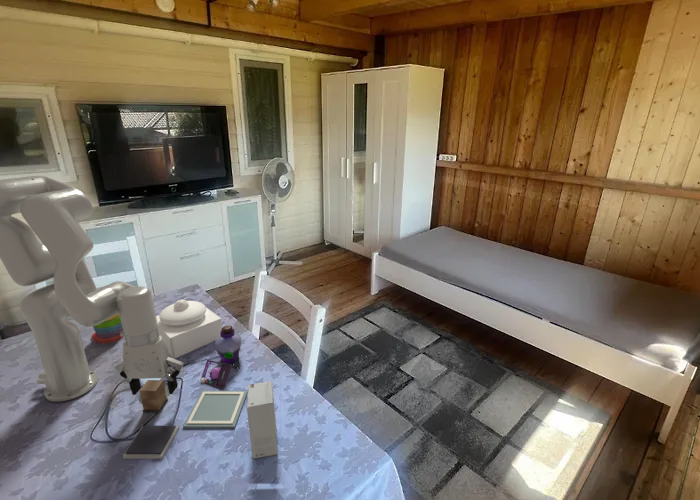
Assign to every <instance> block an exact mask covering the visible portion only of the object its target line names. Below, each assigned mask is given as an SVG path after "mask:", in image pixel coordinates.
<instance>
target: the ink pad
mask: <svg viewBox="0 0 700 500" xmlns="http://www.w3.org/2000/svg"><path fill="white" fill-rule="evenodd" d="M179 429H180V425H155V424H154V425H142V426H141V427H140V429H139V431H137V433H136V435H135V437H133V439H132V441H131V442H130V444H129V445H128V447H127V448H126V450H125V451H124V453H123V455H122V459H125V460H127V459H129V460H136V459H138V460H141V459H142V460H143V459H144V460H151V459H152V460H156V459H157V460H159V459H160V460H163V459H164V457H165V454H166V453H167V451H168V450H169V448H170V446H171V444H172V442H173V441H174V438H175V437H176V436H177V433H178V431H179Z"/></svg>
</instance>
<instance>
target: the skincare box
mask: <svg viewBox="0 0 700 500" xmlns="http://www.w3.org/2000/svg"><path fill="white" fill-rule="evenodd" d="M247 388H248V390H247V392H248V393H247V396H246V398H247V405H246V411H247V419H248V421H247V422H248V428H249V429H248V430H249V436H250V437H249V438H250V443H251V453H252V459H258V458H264V457H272V456H277V455H278V443H277V420H276V410H275V409H276V408H275V400H274V399H275V398H274V391H273V390H274V389H273V381H272V380H271V381H270V380H269V381H264V382H257V383H252V384H248V385H247Z"/></svg>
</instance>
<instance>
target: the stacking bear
mask: <svg viewBox="0 0 700 500" xmlns="http://www.w3.org/2000/svg"><path fill="white" fill-rule="evenodd" d="M92 327H93V330H94V332H93V333H92V335H91V340H92V339H93V340H94V341H93V342H95V343H97V342H98V344H111V343H115V342H117V341H119V340H121V339H123V338H124V337H123V336H120V332H121V331H123V327H122V323H121V319H120V315H119V314H116V315H115V316H113V317H111V318H109V319H107V320H106V321H104V322H102V323H100V324H98V325H96V326H92Z"/></svg>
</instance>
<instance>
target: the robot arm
mask: <svg viewBox="0 0 700 500" xmlns="http://www.w3.org/2000/svg"><path fill="white" fill-rule="evenodd" d="M17 214H21V216H22V218H23V219H24V220H25V222H26V223H25V222H24V221H22V220H21V219H18V218H17V217H14V216H12V215H17ZM92 214H93V205H92V203H91V200H90V199H89V197H88V196H87V195H86V194H85V193H84V192H82V191H81V190H80V189H78V188H76V187H74V186H72V185H69V184H66V183H64V182H61V181H59V180H56V179H54V178H52V177H48V176H45V175H30V176H29V175H28V176H21V177H13V178H12V177H11V178H3V179H0V261H1V262H2V264H3V266H4V268H5V269H6V271H7V273H8V275H9V276H10V278H11V280H12V281H13V282H14V283H15V284H17V285H18V286H21V287H30V286H35V285H38V284H40V283H43V282H45V281H48V280H52V279H53V283H52V282H51V283H50V284H48V285H46V286H43V287H39V288H38V289H35V290H33V291H32V292H30V293H28V294H27V295H26V296H24V297H23V298H22V300H21V301H20V305H19V309H20V312H21V314H22V316H23V318H24V320H25V322H27V325H28V326H29V328H30V330H31V332H32V335H33V337H34V340H35V344H36V347H37V349H38V354H39V357H40V359H41V362H42V366H43V369H44V372H43V371H41V372H40V373H39V375H38V379H37V380H36V384H38V385H45V387H46V388H45V389H44V391H43V393H44V394H43V395H44V397H45V399H46V400H47V401H49V402H56V403H57V402H65V401H70V400H73V399H76V398H79V397H81V396H82V395H84V394H87V393H88V392H89V391H91V390H92V389H93V388H94V387H95V386H96V384H97V383H98V381H99V376H98V374H97V372H96V371H93V370H90V368H89V363H88V359H87V355H86V351H85V349H84V348H85V347H84V344H83V340H82V336H81V333H80V329H79V328H78V326H77V325H76V324H75V323H74V322H72V321H69V320H68V319H67V317H69V316H71V318H72V319H73V320H74V321H75V322H76V323H78V324H79V325H80V326H83V327H86V328H92V327H93V326H96V325H98V324H100V323H102V322H104V321H106V320H107V319H109V318H111V317H113V316H115V315H116V314H119V315H120V319H121V323H122V327H123V331H121V332H120V336H123V338H124V340H125V341H123V343H122V361H120V362H118V363H117V364H115V366H114V370H116V371H117V372H118V374H119V376H120V377H122V378H123V379H125V382H126V383H128V385H129V389H130V391H131V395H132V396H135V395H137V394H138V392H140V389H141V388H142V384H141V379H142V380H143V379H162V378H165V379H166V384H167V390H168V394H169V395H173V393H174V392H175V391H176V390H177V388H178V386H179V385H178V380H177V377H178V376H179V374H181V372H182V369H183V367H184V362H183V361H181V360H178V359H177V358H175V359H173V358H172V357H171V356H170V353H169V350H168V347H167V344H166V342H165V340H164V338H163V336H162V335H160V333H159V328H158V323H157V318H156V316H157V314H156V309H155V306H154V305H155V304H154V300H153V294H152V292H151V290H150V289H149V288H148V287H146V286H135V285H133V284H130V283H128V282H125V281H113V282H111V283H109V284H107V285H105V286H102V287H100V288H98V289H97V285H96V283H95V281H94V280H93V279H94V278H93V277H92V276H91V273H90V271H89V269H88V267H87V265H86V263H85V261H84V258H85V257H86V256H87V255H88V254H89V253H90V252H92V250H93V249H94V242H93V241H92V240H91V238H90V237H89V236H88V233H86V231H85V230H84V228H82V226H81V224H80V223H79V222H81V221H84V220H87V219H89V218H90V217H91V216H92ZM39 240H40V241H39ZM173 367H174V368H175V369H174V368H173Z"/></svg>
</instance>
